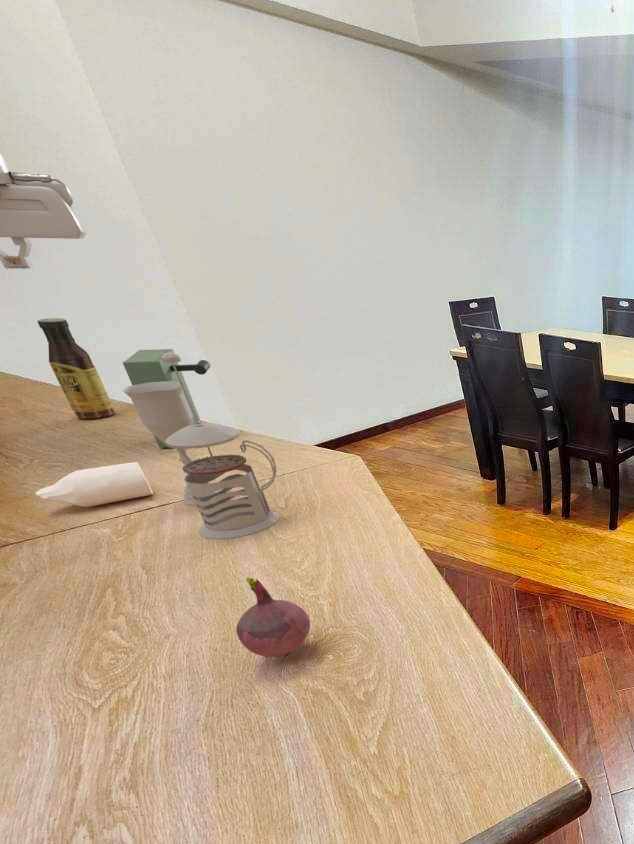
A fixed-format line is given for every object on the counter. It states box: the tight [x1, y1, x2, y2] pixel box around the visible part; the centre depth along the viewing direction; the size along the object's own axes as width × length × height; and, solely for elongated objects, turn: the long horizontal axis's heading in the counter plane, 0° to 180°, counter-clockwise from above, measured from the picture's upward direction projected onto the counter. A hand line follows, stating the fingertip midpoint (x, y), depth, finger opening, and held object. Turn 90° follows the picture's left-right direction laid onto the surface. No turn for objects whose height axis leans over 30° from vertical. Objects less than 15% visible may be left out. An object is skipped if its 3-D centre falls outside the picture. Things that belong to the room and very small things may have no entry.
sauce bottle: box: [37, 317, 115, 420], centre depth 123 cm, size 7×6×20 cm
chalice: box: [122, 382, 220, 506], centre depth 91 cm, size 7×7×18 cm
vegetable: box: [235, 577, 311, 658], centre depth 61 cm, size 6×6×10 cm
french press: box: [161, 352, 280, 540], centre depth 83 cm, size 10×12×25 cm
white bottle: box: [34, 461, 154, 508], centre depth 91 cm, size 6×12×6 cm, turn 136°
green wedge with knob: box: [122, 348, 211, 449], centre depth 116 cm, size 16×12×10 cm
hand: (19, 268), depth 98 cm, fingers closed
